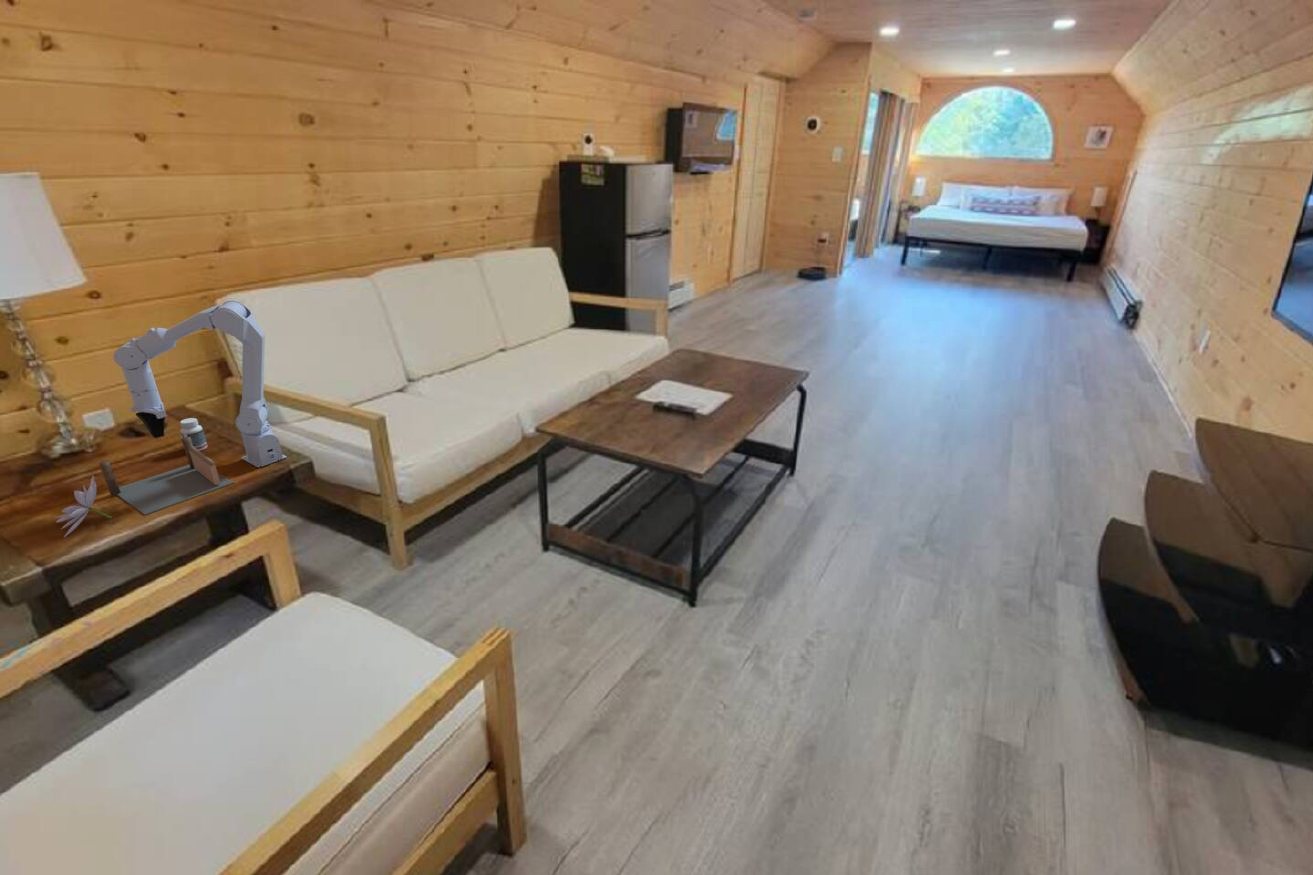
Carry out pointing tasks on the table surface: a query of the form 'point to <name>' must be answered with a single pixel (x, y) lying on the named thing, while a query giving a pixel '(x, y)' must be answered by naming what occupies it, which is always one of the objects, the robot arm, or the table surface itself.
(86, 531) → the table surface
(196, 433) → the pill bottle
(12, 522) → the table surface
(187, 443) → the brown wooden posts
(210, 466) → the brown rimmed panel
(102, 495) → the table surface
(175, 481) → the mat
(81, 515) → the water lily
